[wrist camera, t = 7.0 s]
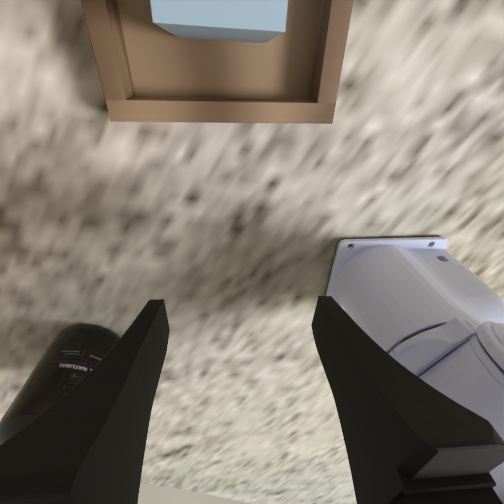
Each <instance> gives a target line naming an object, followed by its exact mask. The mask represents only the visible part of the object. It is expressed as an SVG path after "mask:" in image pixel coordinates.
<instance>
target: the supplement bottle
mask: <svg viewBox="0 0 504 504" xmlns="http://www.w3.org/2000/svg"><path fill="white" fill-rule="evenodd" d="M119 339H120V337H119V336H117V335H116V334H115V333H113V332H111V331H109V330H107V329H105V328H101V327H98V326H92V325H79V326H73V327H70V328H67V329H65V330H63V331H61V332H60V333H59V334H58V335H57V336H56V337H55V338H54V340H53V341H52V343H51V344H50V346H49V347H48V349H47V350H46V352H45V353H44V355H43V356H42V358H41V359H40V361H39V362H38V364H37V366H36V367H35V369H34V370H33V372H32V373H31V375H30V376H29V378H28V379H27V381H26V382H25V384H24V386H23V387H22V389H21V390H20V392H19V393H18V395H17V396H16V398H15V399H14V401H13V402H12V404H11V406H10V407H9V409H8V410H7V412H6V413H5V415H4V416H3V418H2V419H1V421H0V445H1V444H3V443H4V442H5V441H7V440H8V439H10V438H11V437H12V436H14V435H15V434H16V433H18V432H19V431H21V430H22V429H23V428H25V427H26V426H27V425H29V424H30V423H31V422H33V421H34V420H35V419H36V418H38V417H39V416H40V415H41V414H42V413H44V412H45V411H46V410H47V409H49V408H50V407H51V406H52V405H54V404H55V403H56V402H57V401H58V400H60V399H61V398H62V397H63V396H64V395H65V394H67V393H68V392H69V391H70V390H71V389H72V388H73V387H74V386H75V385H76V384H78V383H79V382H80V381H81V380H82V379H83V378H84V377H85V376H86V375H87V374H88V373H89V372H90V371H91V370H92V369H93V368H94V367H95V366H96V365H97V364H98V363H99V362H100V361H101V360H102V359H103V358H104V357H105V355H106V354H107V353H108V352H109V351H110V350H111V349H112V347H113V346H114V345H115V344H116V343H117V342H118V341H119Z"/></svg>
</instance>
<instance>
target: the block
mask: <svg viewBox="0 0 504 504" xmlns="http://www.w3.org/2000/svg"><path fill="white" fill-rule="evenodd" d="M150 2H151V10H152V18H153V23H155V24H156V25H158V26H160V27H161V28H163V29H165V30H166V31H168V32H170V33H171V34H173V35H175V36H176V37H178V38H193V39H208V40H223V41H238V42H253V43H266V42H268V41H270V40H271V39H273V38H275V37H277V36H279V35H281V34H282V33H284V32H285V29H286V18H287V7H288V0H150Z"/></svg>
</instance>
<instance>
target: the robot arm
mask: <svg viewBox="0 0 504 504" xmlns="http://www.w3.org/2000/svg"><path fill="white" fill-rule="evenodd" d="M430 242H431V243H430ZM429 243H430V244H429ZM350 244H352V245H351V246H349V245H350ZM447 244H448V240H447V239H446V238H445V237H414V238H375V239H344V240H341V241H340V242H339V243H338V246H337V251H336V255H335V259H334V263H333V267H332V272H331V276H330V280H329V284H328V289H327V293H326V296H319V297H318V301H317V305H316V309H315V313H314V317H313V321H312V330H313V335H314V340H315V344H316V347H317V350H318V353H319V356H320V359H321V362H322V365H323V368H324V370H325V373H326V376H327V379H328V382H329V384H330V387H331V390H332V393H333V396H334V400H335V403H336V407H337V411H338V415H339V419H340V423H341V428H342V432H343V436H344V441H345V445H346V450H347V454H348V459H349V464H350V469H351V474H352V479H353V484H354V490H355V495H356V501H357V504H504V301H503V300H502V298H501V297H500V296H499V295H498V294H497V293H496V292H495V291H494V290H493V289H491V288H490V287H489V286H488V285H487V284H485V283H484V282H483V281H482V280H481V279H479V278H478V277H477V276H476V275H475V274H473V273H472V272H471V271H470V270H469V269H468V268H466V267H465V266H464V265H463V264H462V263H460V262H459V261H458V260H457V259H456V258H454V257H453V256H452V255H451V254H450V253H448V252H447V251H446V250H445V248H446V246H447ZM348 246H349V247H348ZM344 310H345V311H346V312H345V311H344ZM168 337H169V324H168V319H167V314H166V308H165V303H164V299H162V300H149V301H148V302H147V304H146V305H145V307H144V308H143V309H142V311H141V312H140V314H139V315H138V316H137V318H136V319H135V320H134V322H133V323H132V324H131V326H130V327H129V328H128V329H127V331H126V332H125V333H124V334H123V336H122V337H121V338H120V339H119V341H118V342H117V343H116V344H115V345H114V346H113V347H112V349H111V350H110V351H109V352H108V353H107V354H106V355H105V357H104V358H103V359H102V360H101V361H100V362H99V363H98V364H97V365H96V366H95V367H94V368H93V369H92V370H91V371H90V372H89V373H88V374H87V375H86V376H85V377H84V378H83V379H82V380H81V381H80V382H79V383H78V384H76V385H75V386H74V387H73V388H72V389H71V390H70V391H69V392H68V393H67V394H65V395H64V396H63V397H62V398H61V399H60V400H58V401H57V402H56V403H55V404H54V405H52V406H51V407H50V408H49V409H47V410H46V411H45V412H44V413H42V414H41V415H40V416H39V417H38V418H36V419H35V420H34V421H33V422H31V423H30V424H29V425H27V426H26V427H25V428H23V429H22V430H21V431H19V432H18V433H16V434H15V435H14V436H12V437H11V438H10V439H8V440H7V441H5V442H4V443H3V444H1V445H0V504H137V503H138V494H139V487H140V480H141V472H142V465H143V458H144V452H145V445H146V439H147V433H148V427H149V421H150V415H151V409H152V405H153V401H154V397H155V393H156V389H157V385H158V382H159V378H160V374H161V370H162V367H163V363H164V359H165V355H166V351H167V344H168Z"/></svg>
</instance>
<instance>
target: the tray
mask: <svg viewBox="0 0 504 504" xmlns="http://www.w3.org/2000/svg"><path fill="white" fill-rule="evenodd" d="M81 3H82V7H83V11H84V15H85V19H86V23H87V27H88V31H89V35H90V39H91V43H92V47H93V51H94V55H95V59H96V63H97V67H98V72H99V76H100V80H101V84H102V88H103V92H104V96H105V100H106V104H107V108H108V112H109V116H110V120H111V121H117V122H221V123H325V124H332V122H333V116H334V110H335V105H336V99H337V93H338V87H339V81H340V76H341V70H342V64H343V58H344V52H345V47H346V41H347V35H348V29H349V23H350V17H351V12H352V6H353V0H288V7H287V18H286V29H285V32H284V33H282V34H281V35H279V36H277V37H275V38H273V39H271V40H270V41H268V42H266V43H253V42H238V41H223V40H208V39H193V38H178V37H176V36H175V35H173V34H171V33H170V32H168V31H166V30H165V29H163V28H161V27H160V26H158V25H156V24H155V23H153V18H152V10H151V2H150V0H81Z"/></svg>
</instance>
